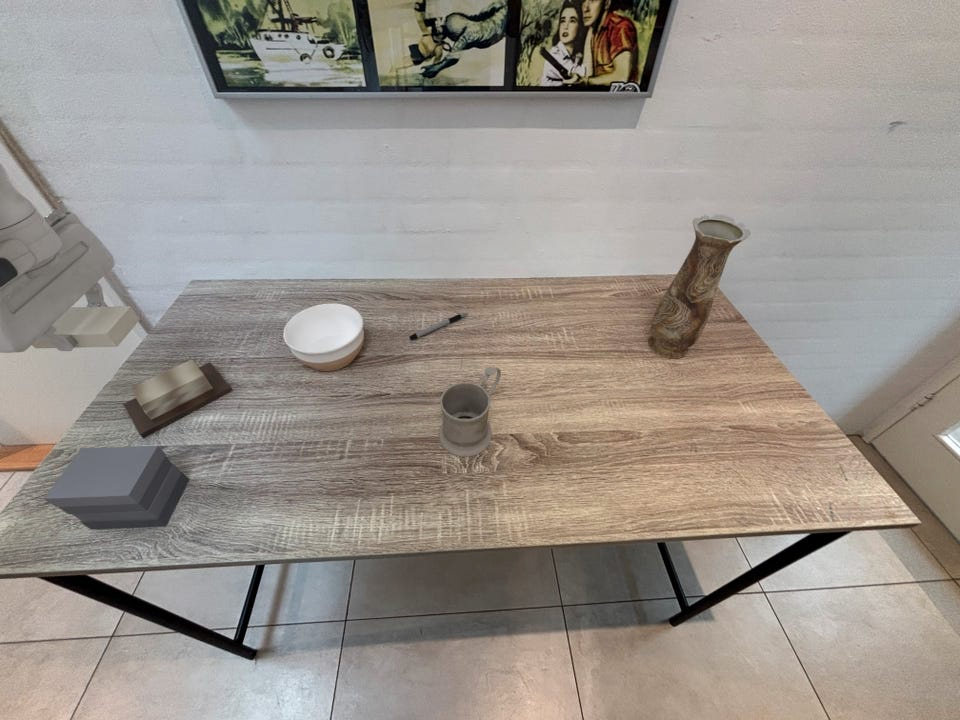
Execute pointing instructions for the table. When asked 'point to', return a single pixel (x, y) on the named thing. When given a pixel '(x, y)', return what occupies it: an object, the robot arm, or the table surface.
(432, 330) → the pen
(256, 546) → the table surface
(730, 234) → the vase
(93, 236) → the robot arm
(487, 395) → the mug
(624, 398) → the table surface
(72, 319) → the white book
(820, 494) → the table surface
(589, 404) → the table surface
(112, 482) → the grey books
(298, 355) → the bowl
